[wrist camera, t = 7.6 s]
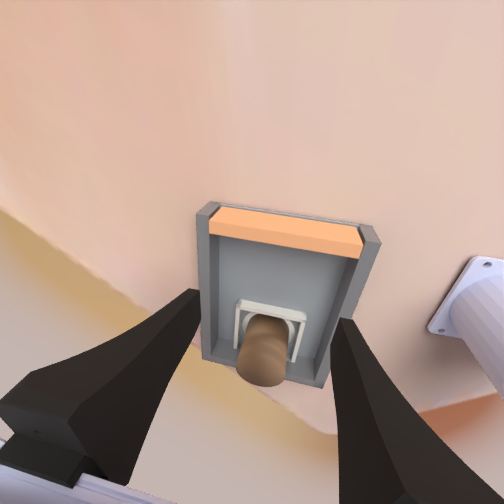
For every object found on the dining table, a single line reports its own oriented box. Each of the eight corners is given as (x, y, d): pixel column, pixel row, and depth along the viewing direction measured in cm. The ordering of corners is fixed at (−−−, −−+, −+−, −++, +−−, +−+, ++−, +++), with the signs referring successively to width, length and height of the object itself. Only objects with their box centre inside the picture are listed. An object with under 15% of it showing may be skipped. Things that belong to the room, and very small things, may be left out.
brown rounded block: (292, 317, 24) (288, 361, 20) (286, 346, 26) (281, 391, 22) (249, 309, 25) (236, 349, 20) (246, 338, 27) (235, 380, 23)
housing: (372, 225, 18) (381, 243, 16) (321, 363, 27) (322, 388, 25) (209, 201, 20) (196, 213, 18) (211, 338, 29) (202, 359, 26)
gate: (355, 226, 18) (363, 245, 15) (352, 238, 18) (358, 258, 16) (222, 206, 19) (208, 220, 17) (222, 217, 20) (209, 233, 17)
